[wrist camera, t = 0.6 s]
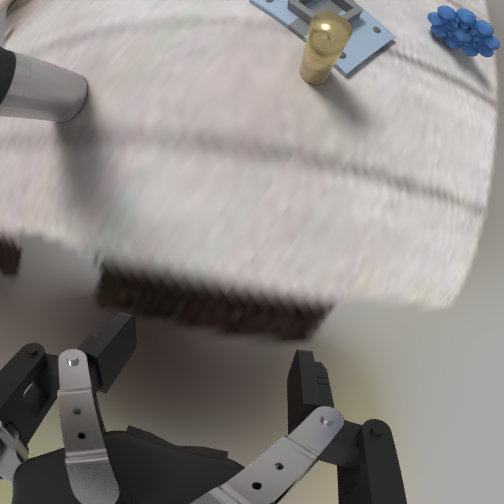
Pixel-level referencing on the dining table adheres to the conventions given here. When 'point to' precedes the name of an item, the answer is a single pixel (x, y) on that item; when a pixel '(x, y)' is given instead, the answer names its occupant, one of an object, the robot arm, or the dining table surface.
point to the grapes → (463, 31)
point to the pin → (324, 46)
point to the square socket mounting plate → (363, 23)
